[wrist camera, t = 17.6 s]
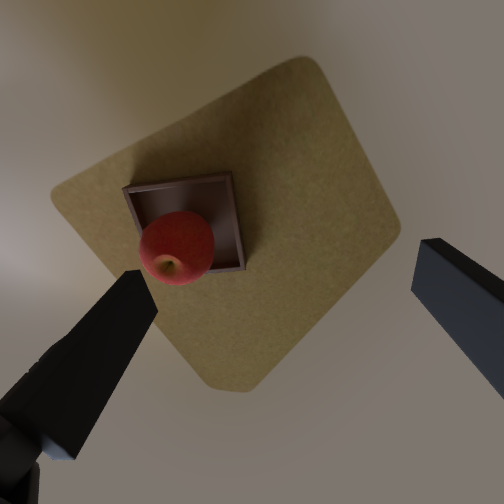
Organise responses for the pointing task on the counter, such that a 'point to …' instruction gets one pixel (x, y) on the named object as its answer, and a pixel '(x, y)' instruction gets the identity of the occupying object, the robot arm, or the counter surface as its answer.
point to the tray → (199, 201)
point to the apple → (177, 247)
